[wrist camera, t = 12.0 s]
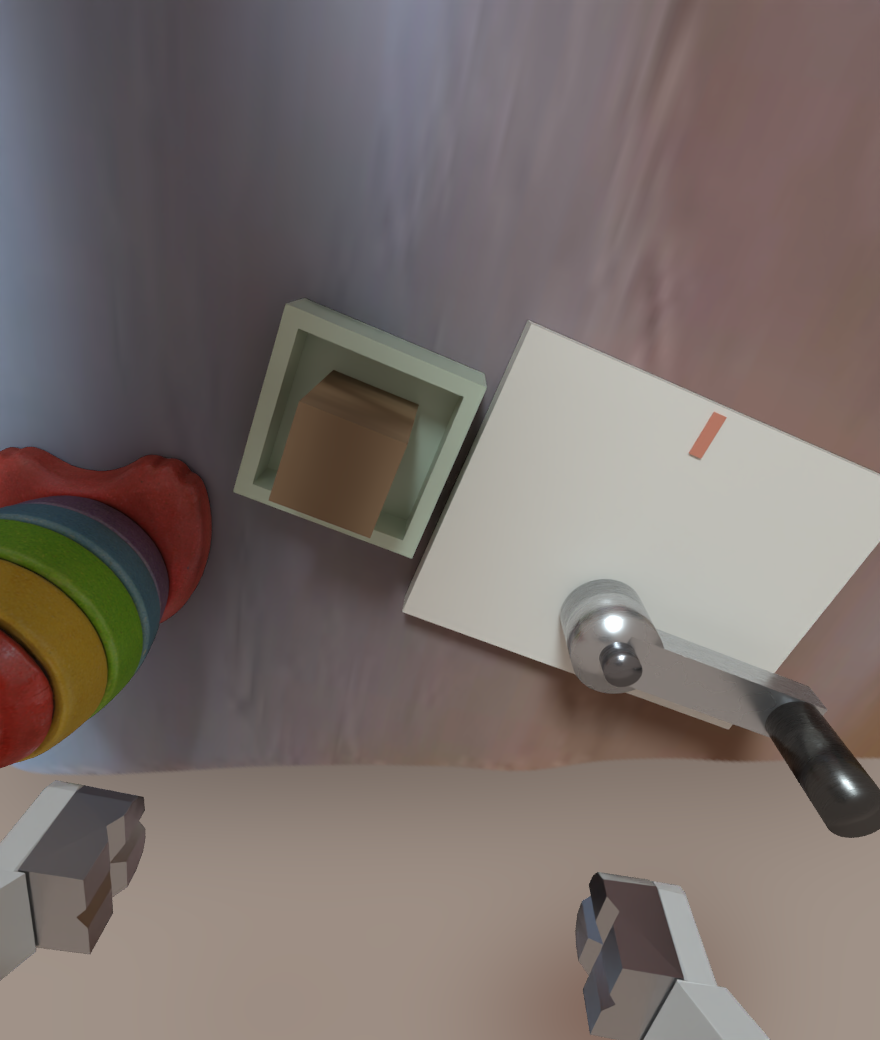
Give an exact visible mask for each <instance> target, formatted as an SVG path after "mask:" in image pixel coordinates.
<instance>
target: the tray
mask: <svg viewBox="0 0 880 1040" xmlns="http://www.w3.org/2000/svg"><path fill="white" fill-rule="evenodd" d="M333 370H335V371H338V372H340V373H343V374H345V375H347V376H350V377H352V378H355V379H357V380H360V381H362V382H365V383H367V384H370V385H372V386H374V387H377V388H379V389H382V390H384V391H387V392H389V393H392V394H394V395H396V396H399V397H401V398H404V399H406V400H409V401H411V402H414V403H416V404H419V406H418V410H417V413H416V417H415V420H414V424H413V427H412V431H411V434H410V438H409V441H408V445H407V447H406V450H405V452H404V455H403V457H402V460H401V462H400V465H399V467H398V470H397V472H396V475H395V477H394V480H393V482H392V485H391V487H390V490H389V492H388V495H387V497H386V500H385V502H384V505H383V507H382V510H381V512H380V515H379V517H378V520H377V522H376V525H375V527H374V530H373V532H372V535H371V538H367V537H365V536H362V535H359V534H357V533H354V532H351V531H349V530H346V529H343V528H341V527H338V526H335V525H333V524H330V523H327V522H325V521H322V520H319V519H317V518H314V517H311V516H309V515H306V514H303V513H301V512H298V511H295V510H293V509H290V508H287V507H285V506H282V505H279V504H277V503H274V502H271V501H269V497H270V494H271V490H272V487H273V484H274V481H275V477H276V474H277V471H278V468H279V464H280V461H281V458H282V455H283V451H284V448H285V445H286V442H287V438H288V435H289V432H290V429H291V426H292V422H293V419H294V416H295V413H296V409H297V406H298V403H299V401H300V400H301V399H302V398H303V397H304V396H305V395H306V394H307V393H308V392H310V391H311V390H312V389H313V388H314V387H315V386H316V385H317V384H318V383H319V382H321V381H322V380H323V379H324V378H325V377H326V376H327V375H328V374H329V373H330V372H332V371H333ZM486 389H487V385H486V379H485V374H484V373H482V372H479V371H477V370H474V369H472V368H470V367H467V366H465V365H463V364H460V363H458V362H455V361H453V360H451V359H448V358H446V357H444V356H441V355H439V354H436V353H434V352H432V351H429V350H427V349H425V348H422V347H420V346H417V345H415V344H413V343H410V342H408V341H406V340H403V339H401V338H398V337H396V336H394V335H391V334H389V333H387V332H384V331H382V330H380V329H377V328H375V327H372V326H370V325H368V324H365V323H363V322H361V321H358V320H356V319H353V318H351V317H349V316H346V315H344V314H342V313H339V312H337V311H334V310H332V309H330V308H327V307H325V306H323V305H320V304H318V303H315V302H313V301H311V300H308V299H306V298H303V299H299V300H296V301H293V302H289V303H286V304H285V308H284V312H283V315H282V319H281V322H280V326H279V329H278V333H277V337H276V340H275V344H274V347H273V351H272V354H271V358H270V362H269V365H268V369H267V372H266V376H265V379H264V383H263V387H262V390H261V394H260V397H259V401H258V404H257V408H256V412H255V415H254V419H253V422H252V426H251V429H250V433H249V437H248V440H247V444H246V447H245V451H244V454H243V458H242V462H241V465H240V469H239V472H238V476H237V479H236V483H235V487H234V490H233V492H234V493H237V494H240V495H242V496H245V497H248V498H250V499H253V500H256V501H258V502H261V503H264V504H266V505H269V506H272V507H274V508H277V509H280V510H282V511H285V512H288V513H291V514H293V515H296V516H299V517H301V518H304V519H307V520H309V521H312V522H315V523H317V524H320V525H323V526H325V527H328V528H331V529H333V530H336V531H339V532H341V533H344V534H347V535H349V536H352V537H355V538H357V539H360V540H363V541H365V542H368V543H371V544H374V545H376V546H379V547H382V548H384V549H387V550H390V551H392V552H395V553H398V554H400V555H403V556H406V557H408V558H411V559H412V558H413V555H414V553H415V551H416V548H417V546H418V544H419V542H420V539H421V537H422V535H423V533H424V530H425V528H426V526H427V523H428V521H429V519H430V517H431V514H432V512H433V510H434V507H435V505H436V503H437V501H438V498H439V496H440V494H441V491H442V489H443V487H444V485H445V482H446V480H447V478H448V475H449V473H450V471H451V469H452V466H453V464H454V462H455V459H456V457H457V455H458V453H459V450H460V448H461V446H462V444H463V441H464V439H465V437H466V434H467V432H468V430H469V428H470V425H471V423H472V421H473V418H474V416H475V414H476V412H477V409H478V407H479V405H480V402H481V400H482V398H483V396H484V393H485V391H486Z"/></svg>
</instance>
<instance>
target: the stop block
mask: <svg viewBox="0 0 880 1040" xmlns="http://www.w3.org/2000/svg"><path fill="white" fill-rule="evenodd" d="M418 406H419V404H416V403H414V402H411V401H409V400H406V399H404V398H401V397H399V396H396V395H394V394H392V393H389V392H387V391H384V390H382V389H379V388H377V387H374V386H372V385H370V384H367V383H365V382H362V381H360V380H357V379H355V378H352V377H350V376H347V375H345V374H343V373H340V372H338V371H335V370H333V371H332V372H330V373H329V374H328V375H327V376H326V377H325V378H324V379H323V380H322V381H321V382H319V383H318V384H317V385H316V386H315V387H314V388H313V389H312V390H311V391H310V392H308V393H307V394H306V395H305V396H304V397H303V398H302V399H301V400H300V401H299V403H298V406H297V409H296V413H295V416H294V419H293V422H292V426H291V429H290V432H289V435H288V438H287V442H286V445H285V448H284V451H283V455H282V458H281V461H280V464H279V468H278V471H277V474H276V477H275V481H274V484H273V487H272V490H271V494H270V497H269V501H271V502H274V503H277V504H279V505H282V506H285V507H287V508H290V509H293V510H295V511H298V512H301V513H303V514H306V515H309V516H311V517H314V518H317V519H319V520H322V521H325V522H327V523H330V524H333V525H335V526H338V527H341V528H343V529H346V530H349V531H351V532H354V533H357V534H359V535H362V536H365V537H367V538H371V535H372V532H373V530H374V527H375V525H376V522H377V520H378V517H379V515H380V512H381V510H382V507H383V505H384V502H385V500H386V497H387V495H388V492H389V490H390V487H391V485H392V482H393V480H394V477H395V475H396V472H397V470H398V467H399V465H400V462H401V460H402V457H403V455H404V452H405V450H406V447H407V445H408V441H409V438H410V434H411V431H412V427H413V424H414V420H415V417H416V413H417V410H418Z"/></svg>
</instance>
